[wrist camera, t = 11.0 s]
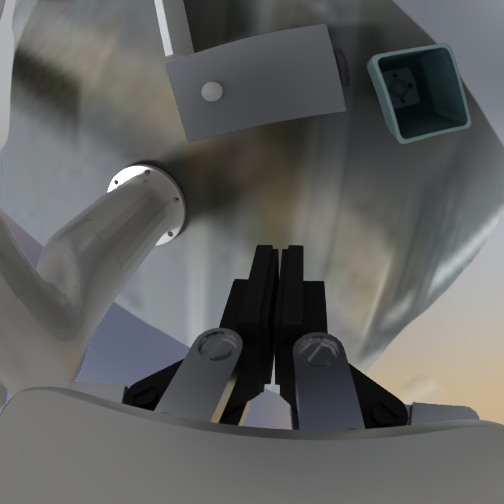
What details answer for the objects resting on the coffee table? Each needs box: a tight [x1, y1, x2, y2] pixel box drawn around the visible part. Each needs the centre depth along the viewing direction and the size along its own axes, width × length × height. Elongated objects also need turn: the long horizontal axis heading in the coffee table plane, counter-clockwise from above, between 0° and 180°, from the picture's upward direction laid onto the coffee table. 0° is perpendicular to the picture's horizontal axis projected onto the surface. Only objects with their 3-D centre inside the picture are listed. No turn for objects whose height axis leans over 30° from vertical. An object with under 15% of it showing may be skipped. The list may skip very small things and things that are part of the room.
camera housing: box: [165, 24, 350, 143], centre depth 27 cm, size 17×9×8 cm, turn 105°
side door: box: [155, 0, 194, 59], centre depth 23 cm, size 14×2×7 cm, turn 12°
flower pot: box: [367, 43, 471, 144], centre depth 24 cm, size 9×9×9 cm
